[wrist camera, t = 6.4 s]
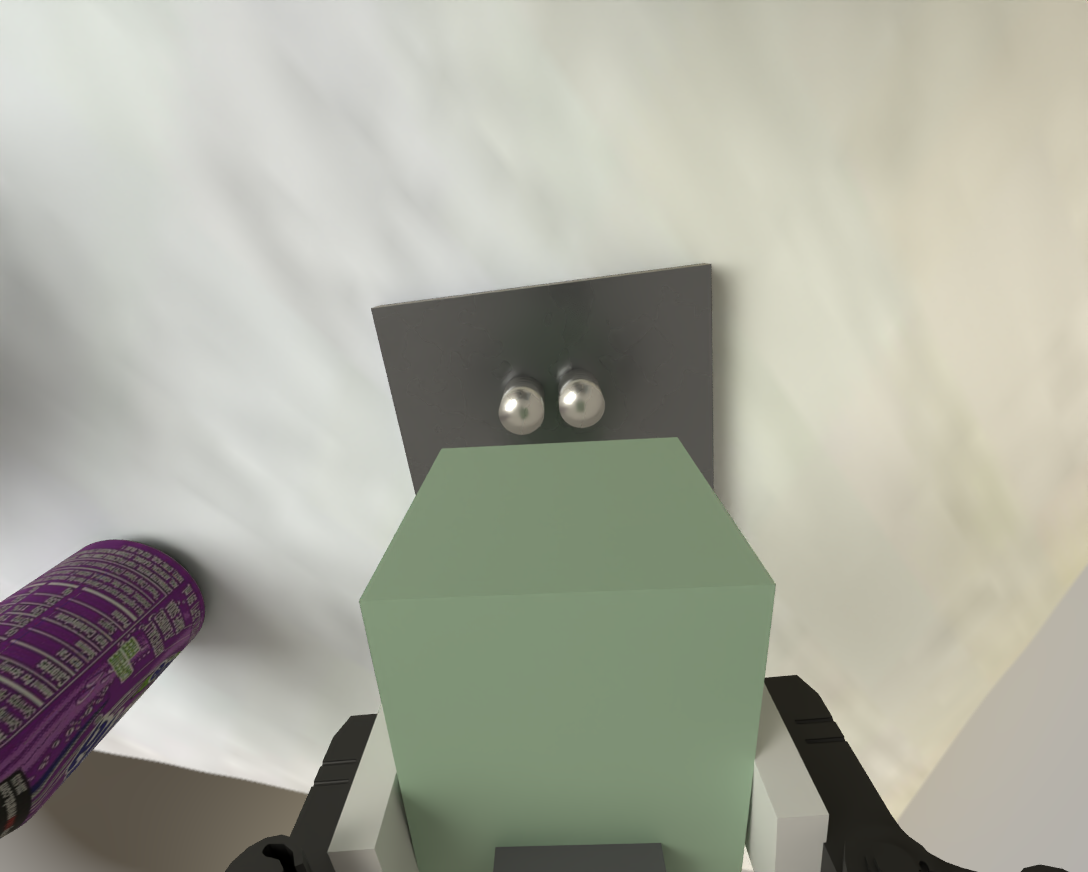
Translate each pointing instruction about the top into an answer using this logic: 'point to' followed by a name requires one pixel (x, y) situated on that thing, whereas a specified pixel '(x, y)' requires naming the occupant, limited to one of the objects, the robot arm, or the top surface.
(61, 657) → the beverage can
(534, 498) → the green block
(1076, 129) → the top surface
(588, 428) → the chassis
